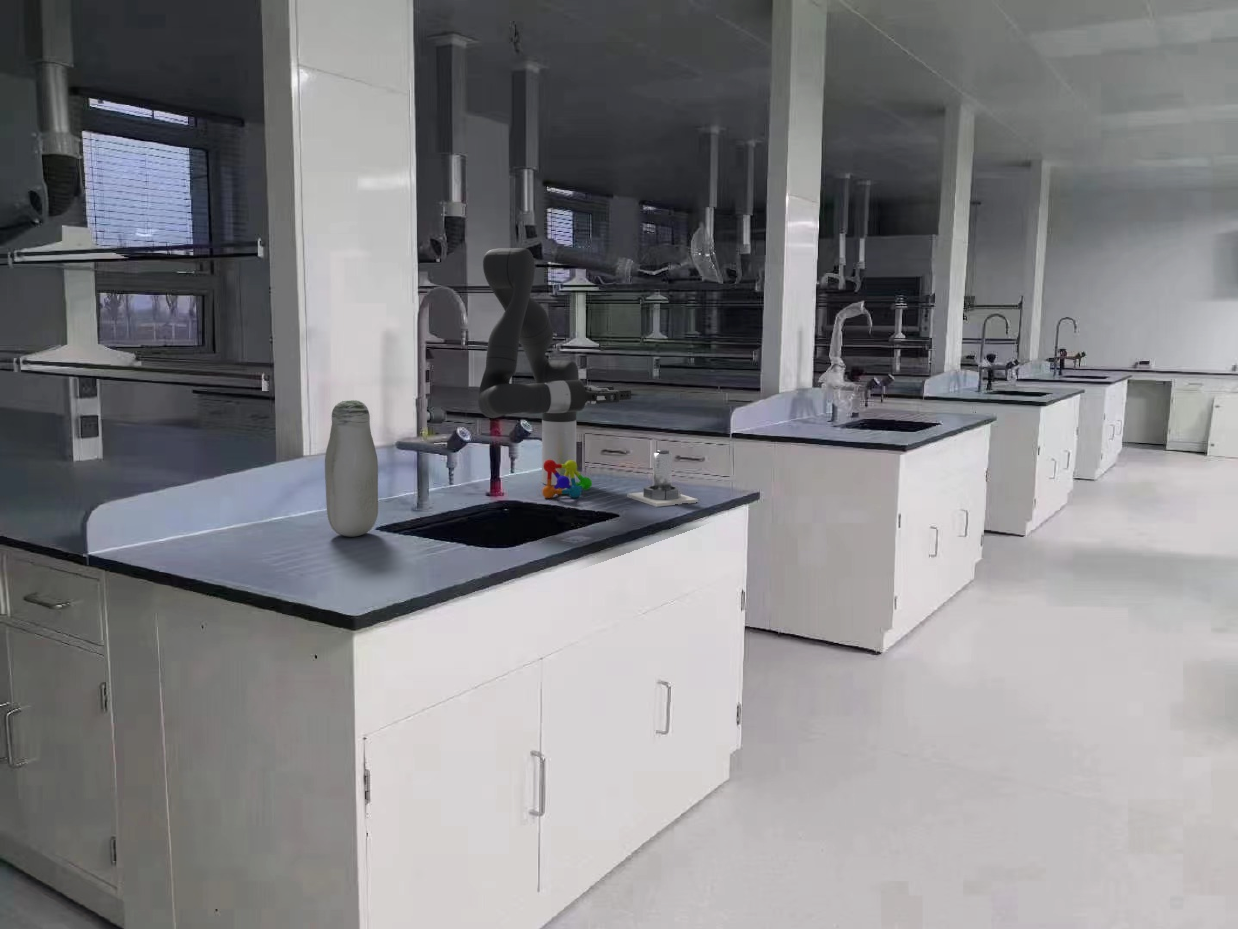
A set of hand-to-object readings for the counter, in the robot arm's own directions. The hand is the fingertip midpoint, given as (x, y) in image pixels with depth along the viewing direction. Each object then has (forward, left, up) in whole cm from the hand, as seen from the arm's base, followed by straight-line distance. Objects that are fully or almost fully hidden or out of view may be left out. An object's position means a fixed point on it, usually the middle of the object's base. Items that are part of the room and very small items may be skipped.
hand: (621, 392), depth 237 cm
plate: (+3, +10, -27) cm, 29 cm away
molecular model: (-11, -9, -27) cm, 31 cm away
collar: (+3, +10, -27) cm, 29 cm away
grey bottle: (+7, -68, -27) cm, 73 cm away
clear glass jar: (+3, +10, -26) cm, 28 cm away
